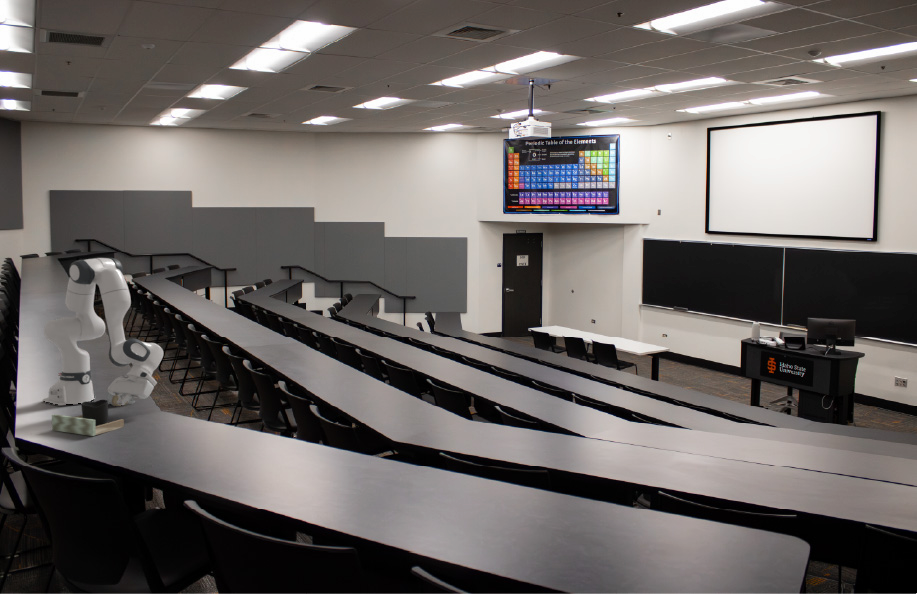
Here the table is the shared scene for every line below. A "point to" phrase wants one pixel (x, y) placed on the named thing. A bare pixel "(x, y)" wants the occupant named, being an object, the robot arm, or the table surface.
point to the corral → (82, 425)
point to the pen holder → (96, 411)
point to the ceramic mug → (114, 399)
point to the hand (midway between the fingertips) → (119, 404)
